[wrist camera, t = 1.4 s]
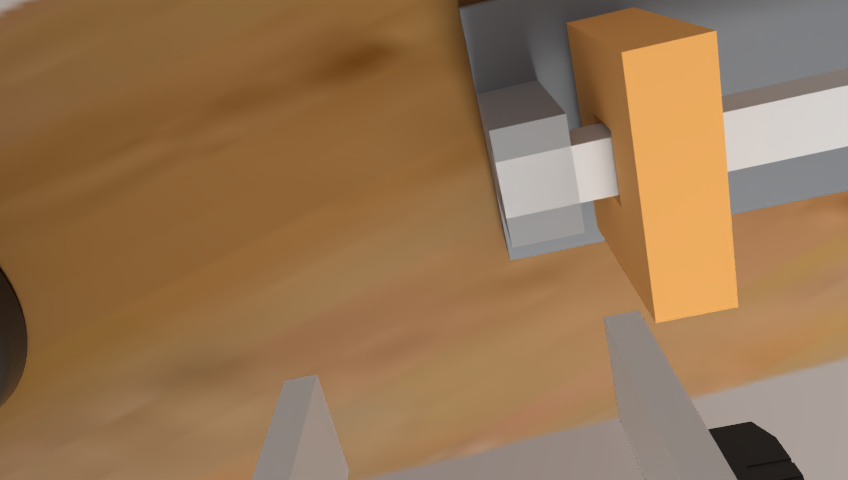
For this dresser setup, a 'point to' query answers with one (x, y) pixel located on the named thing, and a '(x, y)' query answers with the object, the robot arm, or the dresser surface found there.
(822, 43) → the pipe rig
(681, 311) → the slotted orange slab
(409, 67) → the dresser surface
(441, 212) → the dresser surface
